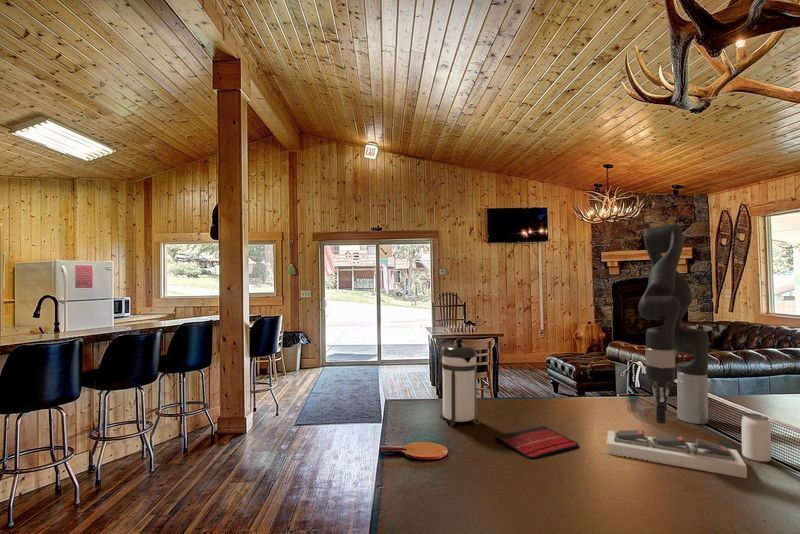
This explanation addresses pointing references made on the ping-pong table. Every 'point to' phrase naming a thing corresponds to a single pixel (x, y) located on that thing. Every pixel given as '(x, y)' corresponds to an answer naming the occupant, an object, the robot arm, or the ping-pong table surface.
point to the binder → (536, 442)
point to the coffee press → (459, 383)
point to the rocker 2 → (670, 440)
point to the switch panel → (677, 455)
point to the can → (756, 437)
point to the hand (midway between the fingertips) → (660, 422)
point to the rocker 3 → (712, 447)
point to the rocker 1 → (631, 434)
